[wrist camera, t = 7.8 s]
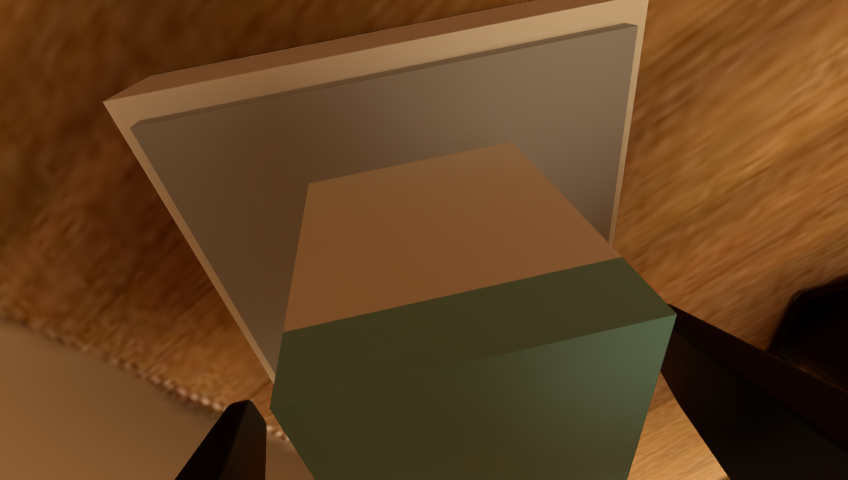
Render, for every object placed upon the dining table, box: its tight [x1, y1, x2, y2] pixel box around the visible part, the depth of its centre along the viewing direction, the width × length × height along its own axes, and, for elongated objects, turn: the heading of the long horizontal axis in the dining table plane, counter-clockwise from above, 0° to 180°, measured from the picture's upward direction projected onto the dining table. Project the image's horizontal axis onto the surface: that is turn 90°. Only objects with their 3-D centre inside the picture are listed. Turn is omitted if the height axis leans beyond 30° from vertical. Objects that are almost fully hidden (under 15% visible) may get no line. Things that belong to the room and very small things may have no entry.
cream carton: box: [270, 142, 677, 480], centre depth 9 cm, size 5×7×6 cm
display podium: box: [103, 0, 649, 384], centre depth 13 cm, size 12×12×3 cm
